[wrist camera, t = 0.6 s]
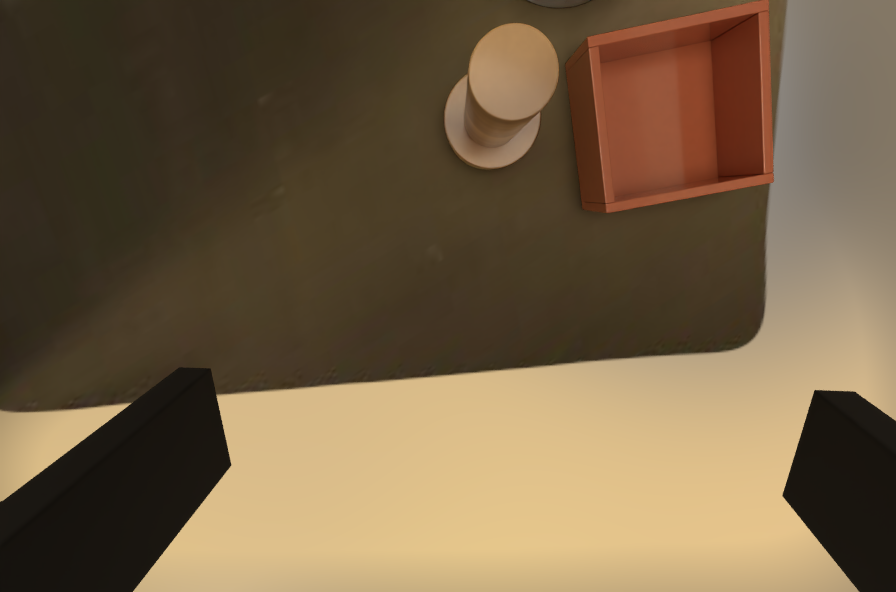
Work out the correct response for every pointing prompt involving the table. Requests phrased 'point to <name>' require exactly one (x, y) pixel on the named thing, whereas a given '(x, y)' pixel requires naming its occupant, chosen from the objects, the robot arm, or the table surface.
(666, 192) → the red square box
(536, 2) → the gray round bin
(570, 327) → the table surface
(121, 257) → the table surface
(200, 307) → the table surface
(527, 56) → the wooden peg
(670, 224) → the table surface
